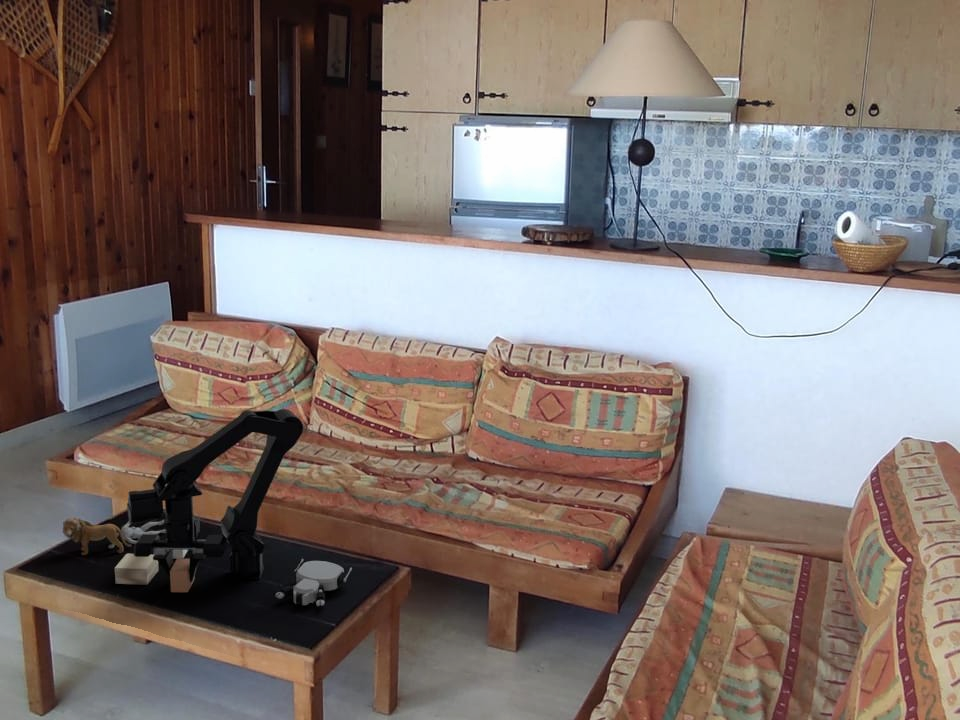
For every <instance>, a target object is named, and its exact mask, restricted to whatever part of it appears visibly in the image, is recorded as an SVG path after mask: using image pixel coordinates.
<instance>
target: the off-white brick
mask: <svg viewBox="0 0 960 720" xmlns="http://www.w3.org/2000/svg"><path fill="white" fill-rule="evenodd" d="M165 540H167V538H166V539H165ZM188 551H189V550H173V559H177V558H178V559H185V556H186V554H187V553H188Z"/></svg>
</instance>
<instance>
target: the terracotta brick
mask: <svg viewBox="0 0 960 720" xmlns="http://www.w3.org/2000/svg"><path fill="white" fill-rule="evenodd" d="M169 579H170V593H189V591H190V589H191V587H192V585H193V583H194V582H195V579H196V578H195V577H194V579H193V581H192V582H190V558H183V559H181V558H176V560H175V562H174V565H173V567H172V568H171V570H170V578H169Z"/></svg>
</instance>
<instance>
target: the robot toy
mask: <svg viewBox="0 0 960 720" xmlns="http://www.w3.org/2000/svg"><path fill="white" fill-rule="evenodd" d="M302 563H303V564H302ZM352 569H353V568H352V567H350V568H349V571H348V572H347V574H346V572H345V570H344V568H343V567H342V565H341V566H340V565H339V564H336V563H333V562H329V561H323V560H310V561H309V560H308V561H306V562H304V558H301V561H300V563H299V564H298V565H297V568H296V569H294V579H296V581H295V582H296V583H295V585H293V586H292V585H286V586H284V587H282V588H281V589H280V591H278V592H276V593H275V597H276V598H277V599H279V600H280V599H283V598H285V599H287V598H289V597H291V596H292V595H293V603H294V604H295V605H297V604H298V605H302V606H308V605H309V603H312V604H314V602H315V604H316V606H317V607H320V606H324V605H325V603H326V602H325V601H326V595H325V594H326V593H324V592H326V591H327V592H328V591H329V592H331V591H334V590H336V589H338V587H341V585H342V584H344V583H346V582H347V578H348V576H349V574H350V573H351V572H352Z"/></svg>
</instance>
